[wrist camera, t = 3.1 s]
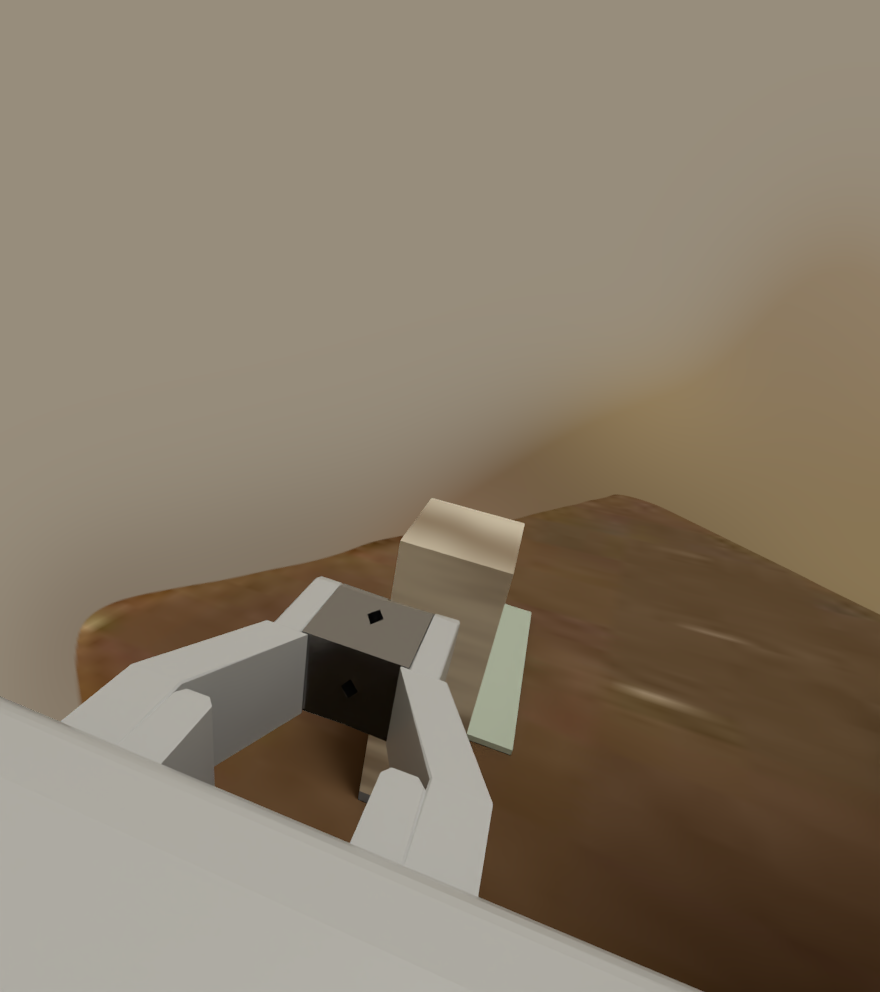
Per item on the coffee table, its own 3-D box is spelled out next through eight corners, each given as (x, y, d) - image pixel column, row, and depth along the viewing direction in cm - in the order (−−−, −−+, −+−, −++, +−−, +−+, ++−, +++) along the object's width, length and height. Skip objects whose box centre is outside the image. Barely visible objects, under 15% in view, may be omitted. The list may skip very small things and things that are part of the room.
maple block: (438, 831, 27) (513, 574, 19) (358, 799, 28) (400, 540, 20) (457, 756, 31) (524, 523, 24) (387, 730, 32) (431, 497, 25)
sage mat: (510, 755, 32) (512, 750, 32) (350, 696, 34) (351, 692, 34) (530, 616, 46) (531, 612, 46) (416, 580, 48) (417, 576, 48)
